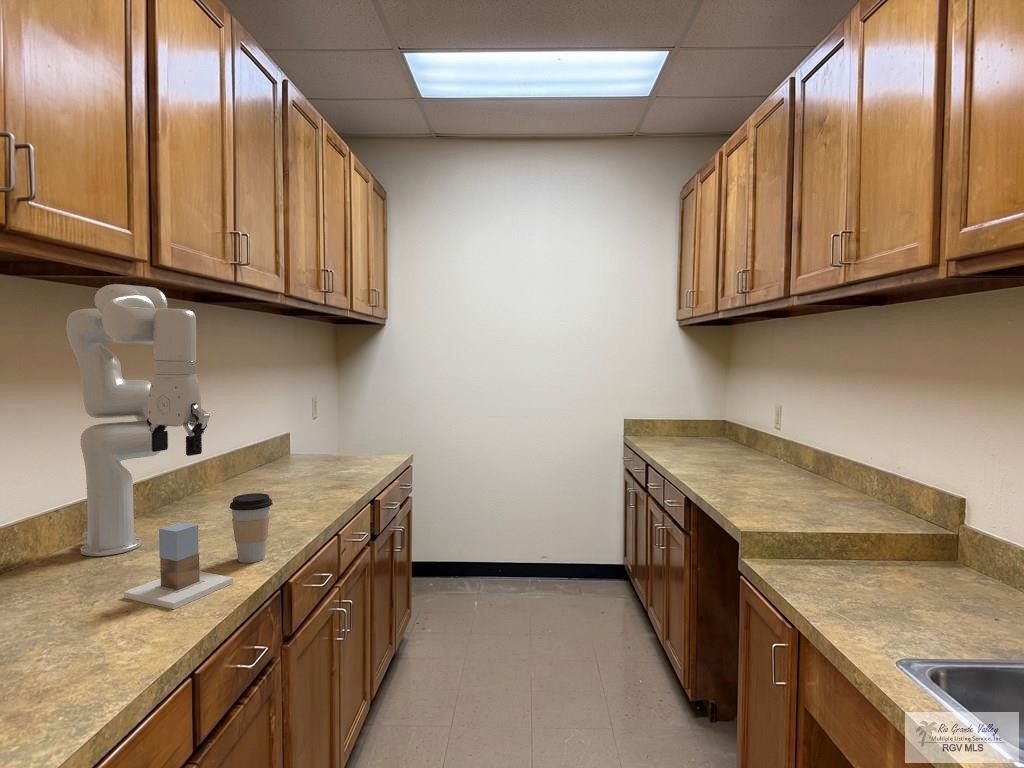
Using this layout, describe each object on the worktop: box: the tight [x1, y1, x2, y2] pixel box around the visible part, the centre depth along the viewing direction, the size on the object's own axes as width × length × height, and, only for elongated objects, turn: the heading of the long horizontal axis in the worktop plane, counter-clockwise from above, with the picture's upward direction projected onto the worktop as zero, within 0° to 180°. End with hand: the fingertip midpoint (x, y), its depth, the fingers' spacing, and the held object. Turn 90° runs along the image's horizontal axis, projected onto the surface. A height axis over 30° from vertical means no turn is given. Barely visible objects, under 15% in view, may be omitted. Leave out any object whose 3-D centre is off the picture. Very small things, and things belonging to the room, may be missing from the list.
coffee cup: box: [229, 492, 273, 564], centre depth 140 cm, size 9×9×15 cm
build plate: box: [123, 570, 234, 610], centre depth 121 cm, size 14×14×1 cm
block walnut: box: [159, 553, 201, 590], centre depth 121 cm, size 5×5×6 cm
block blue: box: [158, 522, 200, 561], centre depth 121 cm, size 5×5×6 cm
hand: (176, 452), depth 120 cm, fingers open, 9 cm apart
